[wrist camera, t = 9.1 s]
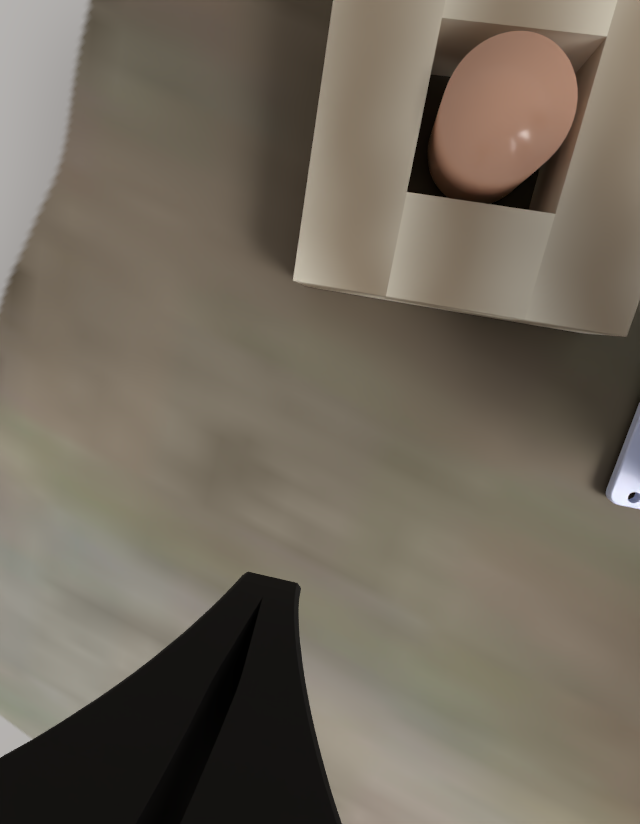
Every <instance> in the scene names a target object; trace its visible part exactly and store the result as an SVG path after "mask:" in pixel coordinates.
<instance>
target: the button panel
mask: <svg viewBox="0 0 640 824" xmlns="http://www.w3.org/2000/svg"><path fill="white" fill-rule="evenodd" d="M510 31H529V32H535V33H538V34H541V35H543V36H545V37H547V38H549V39H551V40H552V41H553V42H555V43H556V44H557V45H558V46H559V47H560V48H561V49H562V50H563V51H564V52H565V54H566V55H567V57H568V58H569V60H570V62H571V64H572V67H573V69H574V72H575V76H576V81H577V87H578V99H577V108H576V112H575V117H574V120H573V123H572V126H571V128H570V130H569V132H568V134H567V136H566V138H565V140H564V141H563V143H562V144H561V146H560V147H559V148H558V150H557V151H556V152H555V153H554V154H553V155H552V156H551V157H550V158H549V159H548V160H547V161H546V162H545V163H544V164H543V165H542V166H541V167H540V170H539V173H538V177H537V181H536V184H535V188H534V192H533V195H532V199H531V203H530V206H529V210H526V209H519V208H512V207H506V206H499V205H492V204H485V203H479V202H472V201H465V200H458V199H451V198H445V197H438V196H431V195H424V194H418V193H411V192H407V189H408V184H409V179H410V174H411V169H412V164H413V159H414V154H415V149H416V144H417V139H418V134H419V129H420V124H421V119H422V114H423V109H424V105H425V100H426V95H427V90H428V85H429V80H430V75H439V76H447V77H451V76H452V74H453V72H454V71H455V69H456V68H457V66H458V65H459V63H460V62H461V61H462V60H463V58H464V57H465V56H466V55H467V54H468V53H469V52H470V51H471V50H472V49H474V48H475V47H476V46H478V45H479V44H480V43H482V42H484V41H485V40H487V39H489V38H491V37H493V36H496V35H498V34H501V33H505V32H510ZM293 281H295V282H297V283H299V284H301V285H304V286H306V287H312V288H318V289H324V290H330V291H335V292H341V293H347V294H353V295H359V296H365V297H371V298H377V299H383V300H388V301H394V302H400V303H406V304H412V305H418V306H424V307H430V308H436V309H442V310H447V311H453V312H459V313H465V314H471V315H477V316H483V317H489V318H495V319H500V320H506V321H512V322H518V323H524V324H530V325H536V326H542V327H548V328H554V329H559V330H565V331H571V332H577V333H584V334H597V335H610V336H623V337H627V334H628V332H629V329H630V326H631V323H632V320H633V318H634V315H635V312H636V309H637V306H638V304H639V301H640V0H333V5H332V12H331V19H330V26H329V33H328V40H327V47H326V54H325V61H324V68H323V75H322V82H321V88H320V95H319V102H318V109H317V116H316V123H315V130H314V137H313V144H312V151H311V158H310V165H309V172H308V179H307V186H306V193H305V200H304V207H303V214H302V221H301V228H300V235H299V242H298V249H297V256H296V263H295V270H294V277H293Z"/></svg>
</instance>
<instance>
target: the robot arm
mask: <svg viewBox="0 0 640 824" xmlns="http://www.w3.org/2000/svg"><path fill="white" fill-rule="evenodd" d="M632 492H635V495H634V497H633V498H631V499H628V496H629V494H630V493H632ZM606 496H607V498H608V499H609V500H610V501H611V502H613V503H614V504H617V505H621V506H626V507H631V508H636V509H640V402H639V405H638V407H637V410H636V413H635V415H634V418H633V421H632V423H631V426H630V429H629V431H628V434H627V436H626V439H625V442H624V444H623V447H622V450H621V452H620V455H619V457H618V460H617V463H616V465H615V468H614V471H613V473H612V476H611V478H610V481H609V484H608V486H607V489H606ZM300 591H301V588H300V586H299V585H298V583H295V582H291V581H286V580H282V579H277V578H273V577H269V576H264V575H260V574H256V573H251V572H247V573H245V574H244V575H242V576H241V578H240V579H239V580H238V581H237V582H236V583H235V584H234V585H233V586H232V587H231V588H230V589H229V590H228V592H227V593H226V594H225V595H224V596H223V597H222V598H221V599H220V600H219V601H217V602H216V603H215V604H214V605H213V606H212V607H211V608H210V609H209V610H208V611H207V612H206V613H205V614H204V615H203V616H202V617H200V618H199V619H198V620H197V621H196V622H195V623H194V624H193V625H192V626H191V627H190V628H188V629H187V630H186V631H185V632H184V633H183V634H182V635H180V636H179V637H178V638H177V639H176V640H174V641H173V642H172V643H171V644H169V645H168V646H167V647H166V648H165V649H163V650H162V651H161V652H160V653H159V654H157V655H156V656H155V657H154V658H152V659H151V660H150V661H149V662H147V663H146V664H145V665H143V666H142V667H141V668H139V669H138V670H137V671H136V672H134V673H133V674H131V675H130V676H129V677H127V678H126V679H125V680H123V681H122V682H120V683H119V684H118V685H116V686H115V687H113V688H112V689H111V690H109V691H108V692H106V693H105V694H103V695H102V696H100V697H99V698H98V699H96V700H94V701H93V702H91V703H90V704H88V705H87V706H85V707H84V708H82V709H81V710H79V711H78V712H76V713H74V714H73V715H71V716H70V717H68V718H67V719H65V720H64V721H62V722H61V723H59V724H57V725H56V726H54V727H52V728H51V729H49V730H48V731H46V732H44V733H43V734H41V735H39V736H38V737H36V738H34V739H33V740H31V741H30V742H27V743H26V744H24V745H22V746H20V747H18V748H17V749H15V750H13V751H11V752H10V753H8V754H6V755H4V756H3V757H1V758H0V824H342V823H341V820H340V817H339V814H338V811H337V808H336V805H335V802H334V799H333V796H332V793H331V789H330V786H329V782H328V778H327V775H326V771H325V768H324V764H323V760H322V757H321V753H320V749H319V745H318V741H317V737H316V733H315V729H314V724H313V720H312V715H311V710H310V705H309V700H308V695H307V689H306V684H305V678H304V671H303V664H302V655H301V647H300V637H299V619H298V606H299V596H300Z"/></svg>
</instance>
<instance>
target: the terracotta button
mask: <svg viewBox="0 0 640 824" xmlns="http://www.w3.org/2000/svg"><path fill="white" fill-rule="evenodd" d="M577 99H578V87H577V81H576V76H575V72H574V69H573V67H572V64H571V62H570V60H569V58H568V57H567V55H566V54H565V52H564V51H563V50H562V49H561V48H560V47H559V46H558V45H557V44H556V43H555V42H553V41H552V40H551V39H549V38H547V37H545V36H543V35H541V34H538V33H535V32H529V31H510V32H505V33H501V34H498V35H496V36H493V37H491V38H489V39H487V40H485V41H484V42H482V43H480V44H479V45H478V46H476V47H475V48H474V49H472V50H471V51H470V52H469V53H468V54H467V55H466V56H465V57H464V58H463V60H462V61H461V62H460V63H459V65H458V66H457V68H456V69H455V71H454V72H453V74H452V76H451V78H450V80H449V82H448V84H447V87H446V89H445V92H444V95H443V98H442V101H441V104H440V107H439V110H438V113H437V116H436V119H435V122H434V125H433V128H432V131H431V135H430V138H429V143H428V152H427V158H428V166H429V170H430V173H431V176H432V179H433V180H434V182H435V184H436V186H437V187H438V188H439V190H440V191H441V192H442V193H443V194H444V195H446V196H447V197H448V198H451V199H458V200H465V201H472V202H479V203H485V204H490V203H493V202H496V201H498V200H500V199H502V198H504V197H505V196H507V195H508V194H510V193H511V192H512V191H513V190H514V189H516V188H517V187H518V186H519V185H520V184H521V183H522V182H523V181H525V180H526V179H527V178H528V177H529V176H530V175H531V174H533V173H534V172H535V171H536V170H537V169H538V168H539V167H541V166H542V165H543V164H544V163H545V162H546V161H547V160H548V159H549V158H550V157H551V156H552V155H553V154H554V153H555V152H556V151H557V150H558V148H559V147H560V146H561V144H562V143H563V141H564V140H565V138H566V136H567V134H568V132H569V130H570V128H571V126H572V123H573V120H574V117H575V112H576V108H577Z"/></svg>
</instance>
